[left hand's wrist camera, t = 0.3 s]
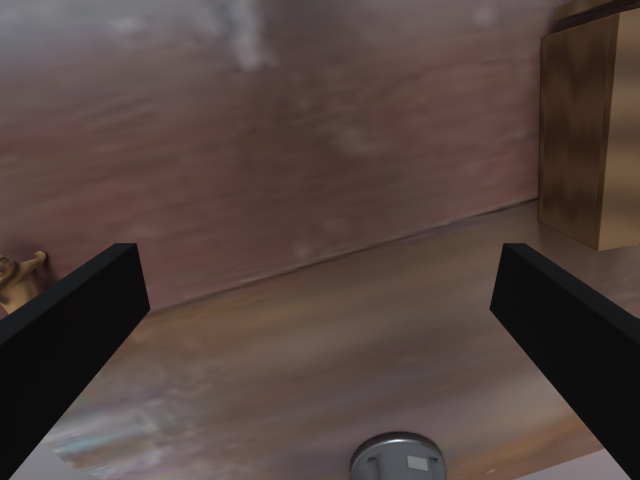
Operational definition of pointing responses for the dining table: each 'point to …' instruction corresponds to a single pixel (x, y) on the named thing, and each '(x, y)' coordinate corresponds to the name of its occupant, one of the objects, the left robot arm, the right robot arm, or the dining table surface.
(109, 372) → the dining table surface
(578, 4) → the drawer
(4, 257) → the lion figurine
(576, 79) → the cabinet
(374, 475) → the left robot arm
